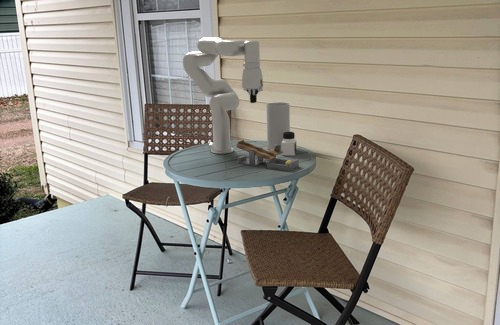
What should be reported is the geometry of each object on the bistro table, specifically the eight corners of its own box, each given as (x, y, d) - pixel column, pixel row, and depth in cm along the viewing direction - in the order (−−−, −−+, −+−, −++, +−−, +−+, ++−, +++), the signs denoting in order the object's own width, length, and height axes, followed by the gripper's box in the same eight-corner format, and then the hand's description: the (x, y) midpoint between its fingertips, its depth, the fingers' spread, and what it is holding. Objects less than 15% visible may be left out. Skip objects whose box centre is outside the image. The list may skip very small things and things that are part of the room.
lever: (236, 147, 257) (237, 140, 256) (252, 141, 270) (254, 134, 268) (269, 160, 248) (270, 153, 247) (285, 153, 261) (286, 146, 259)
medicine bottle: (294, 155, 269) (294, 133, 266) (281, 155, 270) (281, 133, 267) (296, 152, 275) (296, 130, 272) (283, 152, 277) (283, 130, 274)
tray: (266, 167, 248) (266, 161, 247) (276, 163, 256) (276, 156, 255) (288, 171, 241) (288, 164, 240) (298, 166, 249) (298, 159, 248)
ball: (291, 163, 243) (289, 169, 245) (295, 161, 246) (292, 167, 247) (285, 159, 244) (283, 166, 246) (289, 158, 247) (286, 164, 249)
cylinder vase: (294, 147, 286) (294, 103, 279) (280, 152, 277) (279, 106, 270) (276, 145, 294) (276, 101, 287) (262, 149, 285) (261, 104, 278)
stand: (235, 163, 258) (234, 149, 256) (245, 159, 265) (244, 145, 263) (255, 166, 252) (255, 152, 250) (265, 161, 259) (264, 148, 257)
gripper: (235, 66, 256) (237, 102, 261) (261, 66, 248) (262, 104, 253) (244, 65, 262) (245, 100, 267) (269, 65, 254) (269, 102, 259)
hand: (253, 102), depth 260 cm, fingers closed
